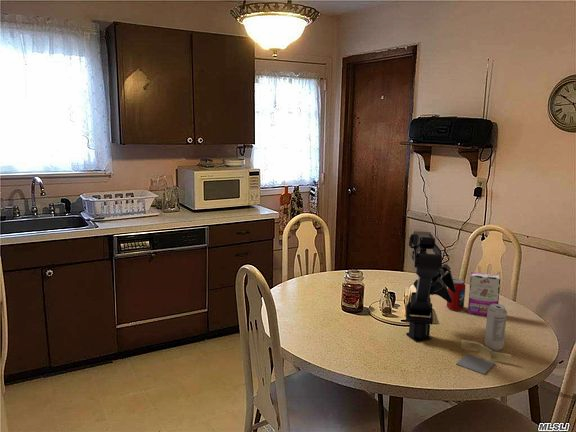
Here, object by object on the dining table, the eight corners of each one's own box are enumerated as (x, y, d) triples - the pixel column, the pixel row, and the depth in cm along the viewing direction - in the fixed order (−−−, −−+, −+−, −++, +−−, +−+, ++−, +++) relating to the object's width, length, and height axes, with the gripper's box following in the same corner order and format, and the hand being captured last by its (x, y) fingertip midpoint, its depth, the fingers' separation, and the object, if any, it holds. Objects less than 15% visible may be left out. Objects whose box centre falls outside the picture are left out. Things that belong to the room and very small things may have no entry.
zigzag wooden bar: (458, 349, 162) (459, 341, 161) (463, 346, 165) (463, 337, 164) (508, 366, 151) (509, 357, 151) (512, 362, 154) (513, 353, 153)
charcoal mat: (484, 374, 146) (484, 373, 146) (456, 364, 152) (456, 363, 152) (495, 364, 153) (495, 362, 152) (467, 354, 159) (467, 353, 158)
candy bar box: (497, 313, 193) (500, 274, 189) (497, 318, 188) (501, 278, 185) (467, 309, 197) (470, 271, 193) (467, 313, 192) (470, 274, 189)
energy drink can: (497, 342, 167) (501, 302, 164) (506, 351, 161) (511, 309, 158) (480, 343, 166) (484, 303, 163) (490, 352, 160) (494, 310, 157)
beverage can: (464, 312, 194) (467, 284, 191) (447, 310, 195) (449, 282, 193) (462, 306, 200) (464, 278, 198) (445, 304, 201) (447, 277, 199)
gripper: (414, 265, 188) (439, 297, 187) (403, 284, 172) (430, 318, 171) (437, 250, 182) (463, 283, 181) (427, 268, 166) (456, 303, 165)
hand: (453, 297), depth 175 cm, fingers open, 9 cm apart
